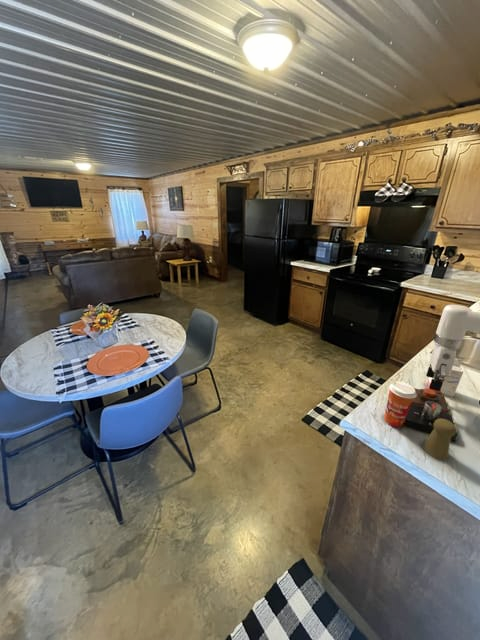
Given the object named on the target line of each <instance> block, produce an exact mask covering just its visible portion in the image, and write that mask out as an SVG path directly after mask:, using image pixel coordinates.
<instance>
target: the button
mask: <svg viewBox="0 0 480 640" xmlns="http://www.w3.org/2000/svg"><path fill="white" fill-rule="evenodd" d="M423 389H424V391H423V395H425V396H427V397H430V398H434V396H435V393H436V392H434V391H433V390H431V389H428V387H427V388H423Z"/></svg>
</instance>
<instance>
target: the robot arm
mask: <svg viewBox="0 0 480 640" xmlns="http://www.w3.org/2000/svg"><path fill="white" fill-rule="evenodd" d="M441 313H442V314H441V316H440V319H439V322H438V325H437V329H436V331H435V334H434V337H433V341H432V343H433V344H434V346H433V348H432V352H431V354H430V359H429V366H428V368H427V371H426V374H425V376H426V377H427V378H429V377H431V378H433V379H432V380H431V383H430V386H429V389H432V390H436V391H440V390H441V387H442V384H443V382H444V378H445V375H447V376H449V375H450V374H451V371H452V367H453V364H454V361H455V358H457V357H456V356H457V352H458V350H460V349H461V346H462V343H463V341H464V338H465V335H466V333H467V331H468V332H471V333H474V334H477V335H480V300H478V301H476V302H475V303H473V304H471V305H470V306H469V307H468V306H465V305H461V304H447V305H446V306H444V307H443V310H442V312H441ZM439 371H440V372H439ZM438 374H440V375H439V376H437V375H438Z"/></svg>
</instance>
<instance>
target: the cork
mask: <svg viewBox="0 0 480 640" xmlns="http://www.w3.org/2000/svg"><path fill="white" fill-rule="evenodd" d="M433 426H434V430H433V431H432V433H431V434H429V436H428V437H427V439H426V441H425V442H424V444H423V450H424V451H425V453H426V454H428V455H429V456H431V457H432V458H435V459H437V460H441V461H442V460H446V459H448V455H449V450H450V444H451V441H450V440H451V436H453V435H454V434H455V433H456V431H457V427H456V425H455V423H454V424H453V423H452V422H450V421H448V420H446V419H437V420H435V422H434V424H433Z"/></svg>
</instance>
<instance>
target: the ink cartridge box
mask: <svg viewBox="0 0 480 640" xmlns="http://www.w3.org/2000/svg"><path fill="white" fill-rule="evenodd" d="M462 362H463V359H462V358H457V357H455V361H454V364H453V367H452V371H451V374H450V375H449V376H447V375H445V378H444V382H443V384H442V387H441V390H440V391H436V390H433V391H434V392H435V393H436V394H440V395H444V396H450V397H454V396H455V394H456V391H457V389H458V386H459V384H460V381H461V379H462V377H463V374H464V370H463V368H462V367H461V364H462ZM439 372H440V371H439ZM439 375H440V374H438V375H437V376H439ZM432 379H433V378H431V377H428V379H427V382H426V387H427V389H429V386H430V383H431V380H432ZM431 390H432V389H431Z"/></svg>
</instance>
